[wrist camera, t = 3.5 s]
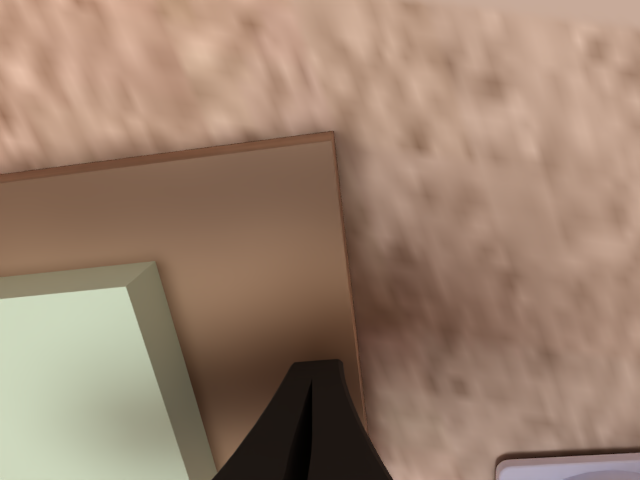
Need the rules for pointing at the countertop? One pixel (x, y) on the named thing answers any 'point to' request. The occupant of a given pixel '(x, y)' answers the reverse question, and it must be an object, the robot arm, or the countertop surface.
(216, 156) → the walnut board
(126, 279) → the coaster
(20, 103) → the countertop surface
